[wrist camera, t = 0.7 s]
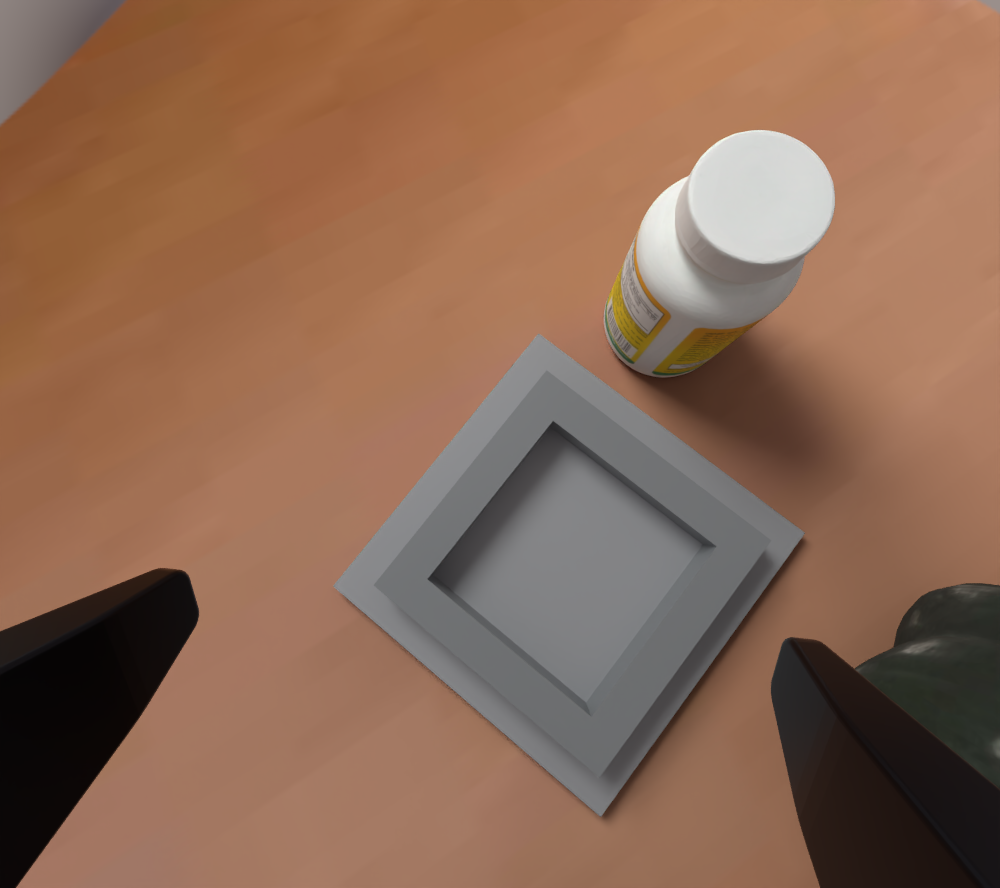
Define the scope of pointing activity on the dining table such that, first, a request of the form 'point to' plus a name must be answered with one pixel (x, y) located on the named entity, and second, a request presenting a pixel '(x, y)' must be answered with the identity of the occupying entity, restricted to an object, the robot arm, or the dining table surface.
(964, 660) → the squash
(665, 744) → the dining table surface
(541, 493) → the tray
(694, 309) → the supplement bottle
